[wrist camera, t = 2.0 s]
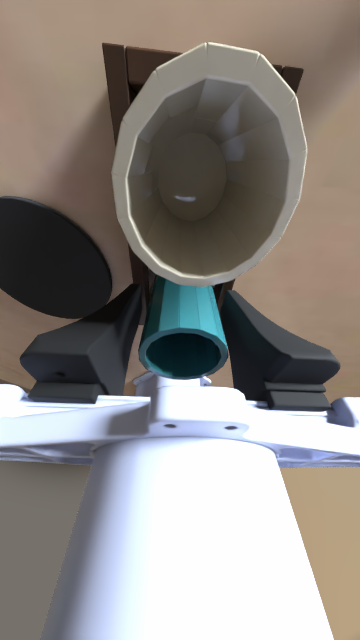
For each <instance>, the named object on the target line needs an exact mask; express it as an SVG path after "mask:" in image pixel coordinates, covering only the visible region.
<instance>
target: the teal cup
mask: <svg viewBox="0 0 360 640" xmlns="http://www.w3.org/2000/svg"><path fill="white" fill-rule="evenodd" d="M138 352H139V360H140V362H141V363H142V364H143V366H144V367H145V368H146V369H147V370H149V371H150V372H152V373H154V374H155V375H157V376H160V377H164V378H168V379H173V380H192V379H199V378H203V377H205V376H208V375H211V374H213V373H215V372H216V371H218V370H219V369H220V368H222V367H223V366H224V364H225V362H226V360H227V358H228V350H227V344H226V340H225V336H224V332H223V328H222V324H221V320H220V316H219V312H218V308H217V304H216V300H215V296H214V292H213V288H212V286H208V287H196V286H186V285H179V284H176V283H174V282H172V281H170V280H167V279H165V278H163V277H161V276H159V275H157V274H156V275H155V279H154V284H153V288H152V293H151V297H150V301H149V306H148V310H147V314H146V319H145V323H144V328H143V332H142V336H141V341H140V345H139V349H138Z"/></svg>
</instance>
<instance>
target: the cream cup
mask: <svg viewBox="0 0 360 640" xmlns="http://www.w3.org/2000/svg"><path fill="white" fill-rule="evenodd" d="M306 149H307V144H306V139H305V134H304V130H303V125H302V120H301V115H300V110H299V106H298V101H297V97H296V96H295V92H294V91H293V90H292V89H291V88H290V87H289V85H288V84H287V83H286V82H285V81H284V79H283V78H282V77H281V76H280V75H279V73H278V72H277V71H276V70H275V69H274V67H273V66H272V65H271V64H270V63H269V62H268V60H267V59H266V58H265V57H264V56H263V54H259V52H258V51H254V50H249V49H244V48H239V47H234V46H229V45H224V44H219V43H214V42H208V43H207V44H206V43H202V44H200V45H198V46H196V47H194V48H192V49H191V50H189V51H187V52H185V53H183V54H181V55H179V56H177V57H176V58H174V59H172V60H170V61H168V62H166V63H164V64H162V65H160V66H159V67H157V68H156V71H155V70H154V71H153V72H152V73H151V75H150V76H149V78H148V80H147V81H146V83H145V84H144V86H143V87H142V89H141V90H140V92H139V93H138V95H137V96H136V98H135V99H134V101H133V103H132V104H131V106H130V107H129V109H128V110H127V112H126V113H125V115H124V116H123V121H121V125H120V130H119V135H118V140H117V145H116V150H115V154H114V159H113V164H112V169H111V173H112V174H111V178H112V186H113V194H114V202H115V209H116V216H117V220H118V222H119V224H120V226H121V228H122V230H123V232H124V234H125V236H126V239H127V241H128V243H129V245H130V247H131V249H132V251H133V252H134V253H135V254H136V255H137V256H138V257H139V258H140V259H141V260H142V261H143V262H144V263H145V264H146V265H147V266H148V267H149V268H150V269H151V270H152V271H153V272H155V274H157V275H159V276H161V277H163V278H165V279H167V280H170V281H172V282H174V283H176V284H179V285H186V286H196V287H208V286H212V285H216V284H220V283H224V282H228V281H230V280H233V279H235V278H236V277H238V276H240V275H241V274H243V273H245V272H246V271H248V270H249V269H251V268H253V267H254V266H256V264H258V263H259V262H260V261H261V260H262V259H263V258H264V257H265V255H266V254H267V253H268V252H269V251H270V250H271V249H272V248H273V247H274V245H275V244H276V243H277V242H278V241H279V240H280V237H282V235H283V233H284V231H285V229H286V227H287V225H288V223H289V221H290V219H291V217H292V215H293V213H294V211H295V208H296V206H297V204H298V202H299V199H300V196H301V189H302V183H303V176H304V170H305V163H306V157H307V150H306Z"/></svg>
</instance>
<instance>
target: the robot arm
mask: <svg viewBox="0 0 360 640" xmlns="http://www.w3.org/2000/svg"><path fill="white" fill-rule="evenodd" d="M141 313H142V297H141V287H140V284H131V285H129V286H128V287H127V288H126V289H125V290H124V291H123V292H121V293H120V294H119V295H118V296H117V297H116V298H114V299H113V300H112V301H110V302H109V303H108V304H106V305H105V306H104V307H102V308H100V309H99V310H97V311H96V312H94V313H92V314H90V315H88V316H86V317H84V318H82V319H80V320H78V321H76V322H74V323H71V324H69V325H66V326H64V327H61V328H59V329H56V330H53V331H49V332H46V333H43V334H40V335H38V336H37V337H36V338H35V339H34V340H33V342H32V343H31V344H30V345H29V346H28V348H27V349H26V350H25V351H24V353H23V354H22V355H21V357H20V363H21V365H22V366H23V367H24V369H25V370H26V371H27V372H28V373H29V374H30V375H32V376H33V377H34V378H35V379H36V380H37V382H36V384H35V385H34V387H33V388H32V390H31V391H30V393H25V392H24V391H23V389H22V388H20V387H18V386H15V385H11V384H0V460H11V461H31V462H48V463H63V464H78V465H79V464H80V465H92V466H91V469H90V473H89V476H88V479H87V483H86V486H85V489H84V493H83V496H82V500H81V503H80V506H79V510H78V513H77V516H76V520H75V523H74V527H73V530H72V534H71V537H70V540H69V544H68V547H67V550H66V554H65V557H64V560H63V564H62V567H61V571H60V574H59V577H58V581H57V585H56V588H55V591H54V594H53V598H52V601H51V604H50V608H49V611H48V614H47V618H46V622H45V625H44V628H43V631H42V635H41V638H40V640H334V639H333V636H332V633H331V630H330V627H329V624H328V620H327V617H326V614H325V611H324V608H323V605H322V602H321V598H320V595H319V592H318V589H317V586H316V583H315V580H314V576H313V573H312V570H311V567H310V564H309V561H308V558H307V554H306V552H305V549H304V545H303V542H302V539H301V536H300V532H299V529H298V526H297V523H296V520H295V517H294V514H293V511H292V508H291V504H290V501H289V498H288V495H287V492H286V489H285V486H284V482H283V479H282V476H281V473H280V470H279V468H298V467H299V468H301V467H360V398H352V397H343V398H339V399H337V400H335V401H333V402H332V403H331V404H330V403H329V402H328V400H327V399H326V397H325V395H324V394H323V392H326V389H325V387H324V386H323V383H325V382H326V381H327V380H329V379H330V378H332V377H333V376H334V375H335V374H336V373H337V372H338V371H339V369H340V363H339V362H338V360H337V359H336V358H335V356H334V355H333V354H332V353H331V351H330V350H328V349H326V348H323V347H321V346H318V345H316V344H314V343H311V342H309V341H307V340H304V339H302V338H300V337H298V336H296V335H294V334H292V333H290V332H289V331H287V330H285V329H283V328H281V327H280V326H278V325H277V324H275V323H274V322H272V321H271V320H269V319H268V318H266V317H265V316H264V315H262V314H261V313H260V312H259V311H257V310H256V309H255V308H254V307H253V306H252V305H250V304H249V303H248V302H247V301H246V300H245V299H244V298H243V297H242V296H241V295H240V294H238V293H237V292H236V291H235V290H226V293H225V297H224V300H223V303H222V306H221V310H220V317H221V324H222V328H223V331H224V335H225V339H226V342H227V346H228V350H229V355H230V361H231V368H232V375H233V385H234V389H233V388H227V387H206V386H207V385H210V384H211V380H209V379H208V378H206V377H203V378H199V379H192V380H173V379H168V378H164V377H160V376H157V375H155V374H154V373H152V372H149V373H146V374H144V375H142V376H140V377H138V378H136V379H134V380H133V383H134V384H136V385H137V386H136V391H135V396H134V397H132V396H123V390H124V384H125V378H126V372H127V367H128V361H129V356H130V351H131V347H132V343H133V340H134V337H135V334H136V331H137V328H138V325H139V322H140V318H141Z"/></svg>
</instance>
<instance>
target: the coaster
mask: <svg viewBox="0 0 360 640" xmlns="http://www.w3.org/2000/svg"><path fill="white" fill-rule="evenodd" d="M0 288H1V289H2V290H3V291H4V292H6V293H7V294H8V295H10V296H11V297H13V298H14V299H16V300H17V301H19V302H21V303H22V304H24V305H26V306H28V307H30V308H32V309H34V310H37V311H39V312H42V313H44V314H48V315H51V316H55V317H60V318H67V319H78V318H84V317H86V316H88V315H90V314H92V313H94V312H96V311H97V310H99V309H100V308H102V307H104V306H105V305H106V304H107V302H108V300H109V298H110V296H111V292H112V277H111V273H110V269H109V267H108V264H107V262H106V260H105V258H104V256H103V254H102V253H101V251H100V250H99V248H98V247H97V245H96V244H95V243H94V242H93V240H92V239H91V238H90V237H89V236H88V235H87V234H86V233H85V232H84V231H83V230H82V229H81V228H80V227H79V226H77V225H76V224H75V223H74V222H73V221H71V220H70V219H68V218H67V217H65V216H64V215H63V214H61V213H59V212H57V211H56V210H54V209H52V208H50V207H48V206H46V205H43V204H41V203H39V202H36V201H32V200H29V199H25V198H20V197H11V196H3V197H0Z"/></svg>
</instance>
